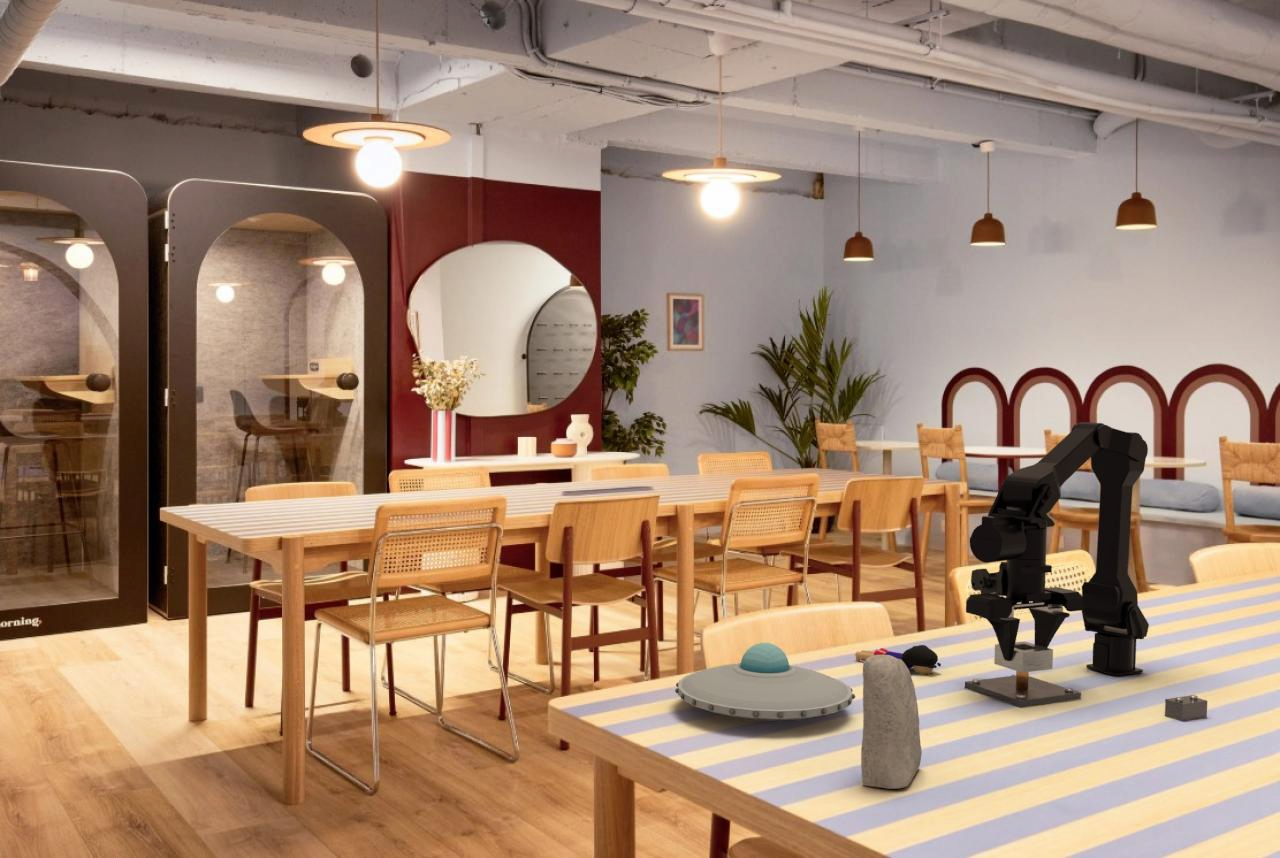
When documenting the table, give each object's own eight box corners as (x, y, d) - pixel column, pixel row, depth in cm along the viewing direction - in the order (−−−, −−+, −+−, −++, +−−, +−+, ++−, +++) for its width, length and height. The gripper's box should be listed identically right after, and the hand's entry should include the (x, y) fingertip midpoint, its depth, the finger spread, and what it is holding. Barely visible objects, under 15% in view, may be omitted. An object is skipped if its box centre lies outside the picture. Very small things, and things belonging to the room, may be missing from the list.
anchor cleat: (1189, 711, 177) (1189, 692, 177) (1206, 717, 174) (1207, 697, 174) (1164, 715, 175) (1165, 696, 175) (1182, 721, 172) (1183, 701, 172)
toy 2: (842, 669, 203) (922, 682, 192) (842, 642, 202) (922, 653, 192) (874, 659, 210) (953, 671, 200) (874, 633, 210) (953, 643, 200)
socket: (1023, 660, 190) (1024, 641, 190) (1052, 669, 184) (1053, 649, 184) (994, 663, 187) (994, 644, 187) (1022, 672, 182) (1023, 652, 182)
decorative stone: (883, 760, 152) (886, 642, 152) (930, 768, 149) (933, 648, 149) (853, 785, 143) (856, 659, 142) (903, 794, 140) (906, 666, 139)
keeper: (1023, 680, 194) (1024, 649, 194) (1080, 699, 183) (1081, 666, 183) (964, 688, 189) (965, 656, 188) (1020, 707, 178) (1021, 673, 178)
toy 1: (637, 712, 172) (638, 642, 172) (744, 680, 192) (745, 617, 191) (788, 751, 155) (789, 674, 155) (888, 712, 175) (890, 643, 174)
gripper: (1033, 547, 196) (1031, 642, 197) (942, 553, 188) (940, 652, 189) (1086, 556, 186) (1083, 657, 187) (993, 563, 178) (990, 668, 179)
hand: (1023, 658), depth 186 cm, fingers closed on socket, 6 cm apart
